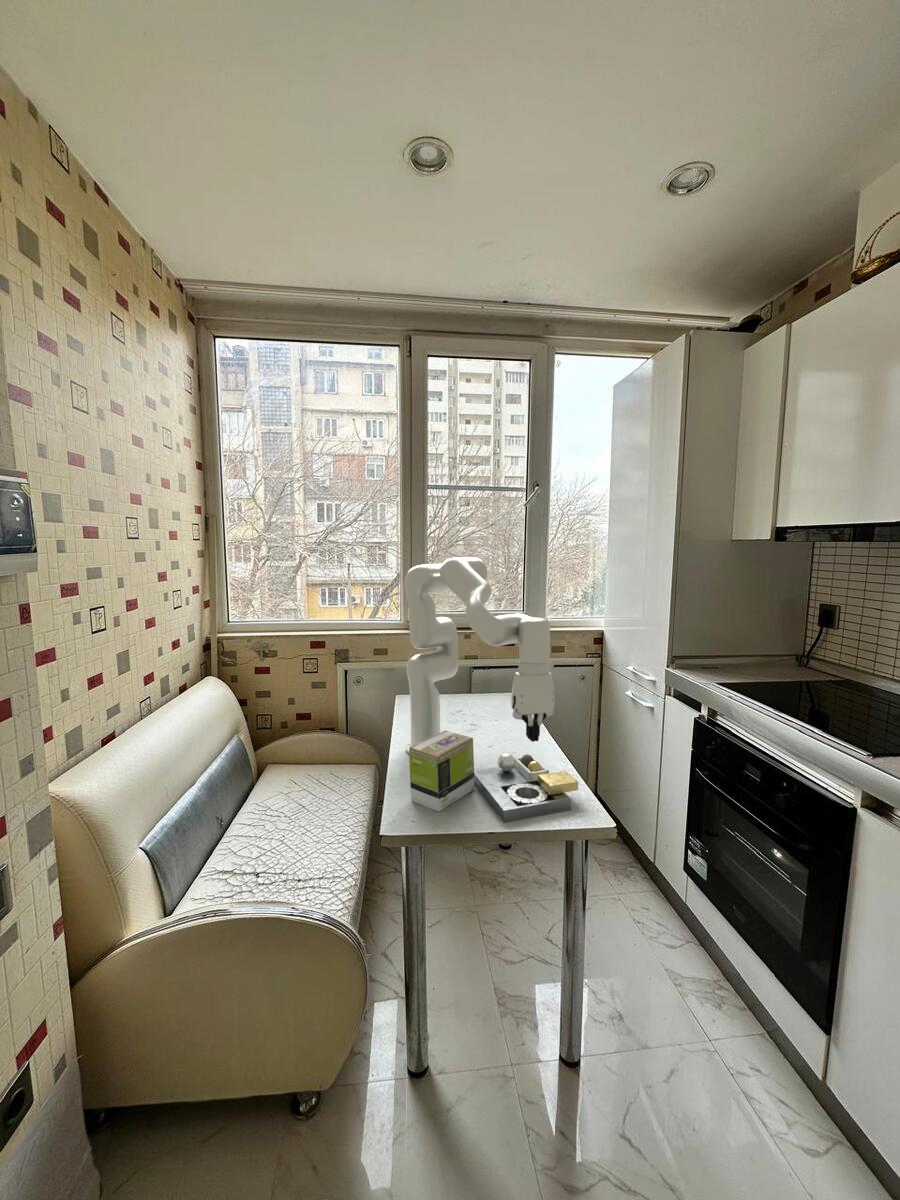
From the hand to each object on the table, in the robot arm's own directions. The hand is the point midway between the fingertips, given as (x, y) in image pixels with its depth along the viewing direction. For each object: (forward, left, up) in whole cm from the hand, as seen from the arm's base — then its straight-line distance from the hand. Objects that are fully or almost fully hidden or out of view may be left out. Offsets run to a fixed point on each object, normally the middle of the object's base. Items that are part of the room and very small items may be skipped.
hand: (532, 739), depth 124 cm
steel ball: (-13, -1, -11) cm, 17 cm away
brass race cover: (0, +7, -14) cm, 16 cm away
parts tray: (-10, +5, -14) cm, 18 cm away
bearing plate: (-5, -1, -17) cm, 18 cm away
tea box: (-11, -20, -17) cm, 29 cm away
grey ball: (-13, +5, -12) cm, 18 cm away
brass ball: (-8, +5, -12) cm, 15 cm away
